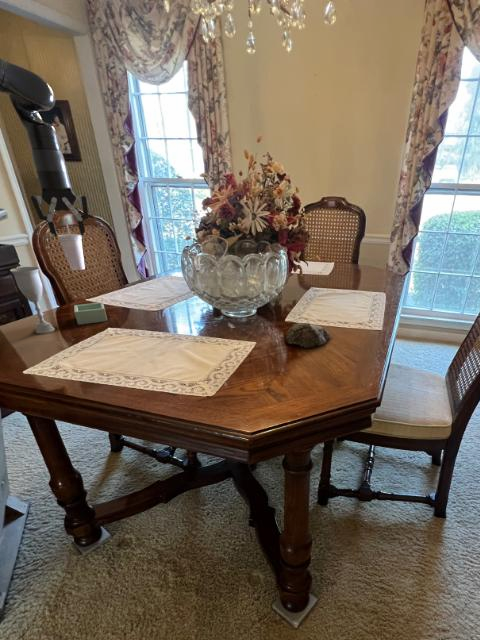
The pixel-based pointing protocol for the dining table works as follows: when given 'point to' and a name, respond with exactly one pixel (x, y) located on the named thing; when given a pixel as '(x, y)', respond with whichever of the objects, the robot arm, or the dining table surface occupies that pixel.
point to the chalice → (32, 292)
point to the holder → (90, 313)
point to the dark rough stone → (307, 335)
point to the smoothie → (72, 249)
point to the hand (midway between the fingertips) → (69, 235)
